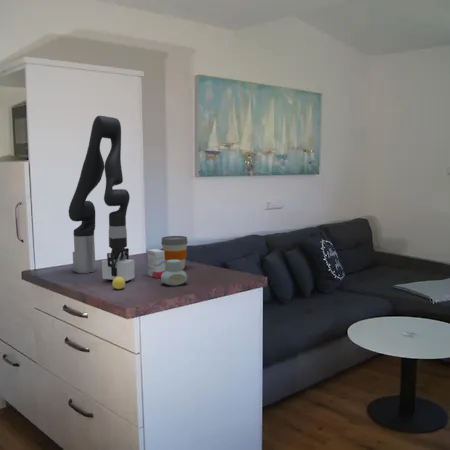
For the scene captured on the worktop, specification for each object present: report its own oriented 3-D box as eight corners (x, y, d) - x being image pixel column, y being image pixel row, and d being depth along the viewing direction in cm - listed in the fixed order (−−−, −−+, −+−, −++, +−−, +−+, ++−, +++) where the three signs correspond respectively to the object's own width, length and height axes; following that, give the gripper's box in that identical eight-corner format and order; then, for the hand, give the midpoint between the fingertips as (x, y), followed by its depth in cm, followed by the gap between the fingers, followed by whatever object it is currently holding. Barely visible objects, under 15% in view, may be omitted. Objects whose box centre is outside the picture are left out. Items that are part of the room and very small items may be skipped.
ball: (110, 290, 203) (109, 277, 202) (116, 287, 207) (116, 275, 207) (121, 290, 201) (120, 278, 201) (127, 287, 206) (127, 275, 205)
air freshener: (184, 281, 218) (183, 258, 216) (189, 285, 210) (189, 261, 209) (159, 283, 214) (158, 259, 213) (163, 287, 206) (163, 263, 205)
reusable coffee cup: (164, 266, 251) (163, 235, 249) (189, 265, 250) (188, 235, 248) (160, 271, 238) (159, 239, 236) (186, 271, 238) (186, 239, 236)
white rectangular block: (102, 278, 217) (102, 260, 216) (111, 275, 224) (110, 258, 223) (126, 280, 214) (126, 262, 213) (134, 277, 220) (134, 259, 219)
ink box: (166, 277, 225) (165, 250, 224) (155, 278, 223) (155, 252, 221) (157, 273, 233) (156, 248, 231) (147, 275, 230) (146, 249, 228)
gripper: (118, 233, 224) (119, 270, 226) (100, 238, 211) (101, 277, 213) (133, 234, 222) (134, 271, 224) (116, 239, 208) (117, 278, 210)
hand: (118, 274), depth 218 cm, fingers closed on white rectangular block, 6 cm apart
